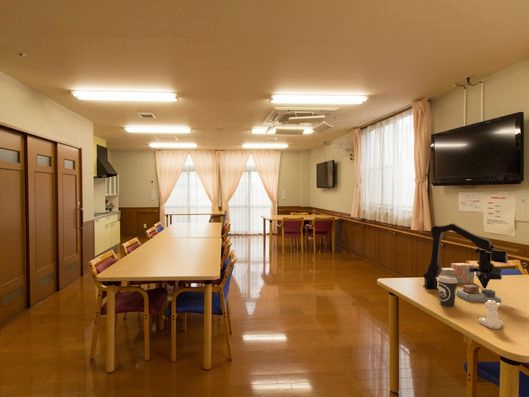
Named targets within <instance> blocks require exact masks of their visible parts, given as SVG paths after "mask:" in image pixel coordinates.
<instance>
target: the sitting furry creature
mask: <svg viewBox="0 0 529 397" xmlns="http://www.w3.org/2000/svg"><path fill="white" fill-rule="evenodd" d="M497 302H498V301H494V300H488V301H485V302H484V305H485V307H486V310H487V311H486V314H485V316H486V317H482V316H481V317H479V318H478V322H479V323H480V324H481V325H483V326H484V327H487V328H489V329H492V330H499V329H500V328H501V327H502V326H503V325H504V322H503V320H501V319H500V315H499V312H498V309H499V307H500V306H501V303H497Z"/></svg>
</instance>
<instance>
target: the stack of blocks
mask: <svg viewBox="0 0 529 397" xmlns="http://www.w3.org/2000/svg"><path fill="white" fill-rule="evenodd" d="M470 267H475V265H474V264H471V263H468V262H467V263H466V262H459V263H457V262H455V263H452V262H451V263H450V267H442V269H441V270H442V272H441V273H440V274H439V275H438V277H439V276H440V275H448V276H453V277H456V279H457V281H458V283H457V284H473V283H475V282H474V281H475V280H474V278H475V272H473V273H472V272H469V268H470Z"/></svg>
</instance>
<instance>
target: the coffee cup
mask: <svg viewBox="0 0 529 397" xmlns="http://www.w3.org/2000/svg"><path fill="white" fill-rule="evenodd" d="M457 284H459V283H458V281H457V279H456V277H453V276H448V275H440V276H439V275H438V276H437V285H438V294H439V303H440V306H443V307H446V308H447V307H448V308H454V307H455V303H456V302H455V301H456V293H457Z"/></svg>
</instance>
